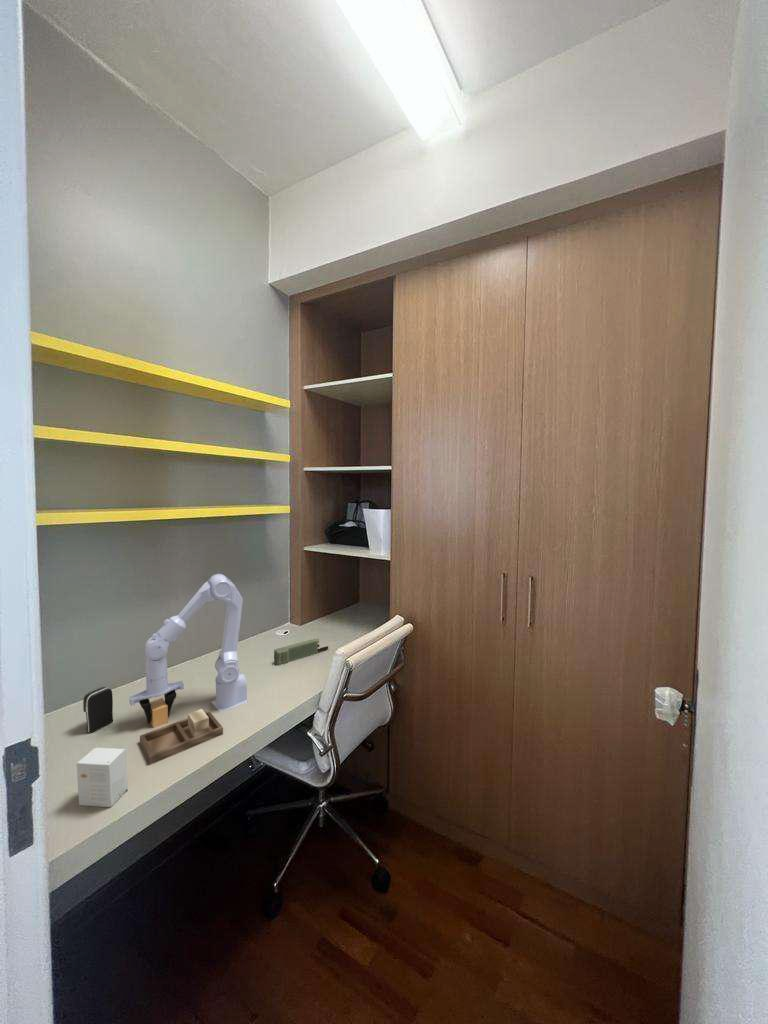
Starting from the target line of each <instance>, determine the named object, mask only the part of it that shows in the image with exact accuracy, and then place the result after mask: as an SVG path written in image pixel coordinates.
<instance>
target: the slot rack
mask: <svg viewBox="0 0 768 1024" xmlns="http://www.w3.org/2000/svg"><path fill="white" fill-rule="evenodd" d="M204 712H205V713H206V715H207V716H208V717H209V731H208V732H206V733H204V734H201V735H199V736H196V737H194V738H193V736H192V735H191V733H190V732H189V730H188V717H187V718H183V719H181V720H178V721H176V722H173V723H171V724H168V725H164V726H163V727H159V728H157V729H154V730H151V731H149V732H146V733H143V734H140V735H139V744H140V746H141V749H142V750H143V753H144V755H145V757H146V760H147V761H148V764H149V766H151V765H153V764H156V763H158V762H160V761H163V760H165V759H167V758H171V757H173V756H175V755H177V754H179V753H182V752H184V751H187V750H189V749H191V748H193V747H196V746H199V745H202V744H204V743H206V742H209V741H210V740H213V739H216V738H218V737H220V736H223V735H224V727H223V726H222V725H221V724H220V722H219V721H218V720H217V718H216V717H215V716H214V715H213V714H212V712H211V711H210V710H206V711H205V710H204Z"/></svg>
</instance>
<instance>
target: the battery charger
mask: <svg viewBox="0 0 768 1024" xmlns="http://www.w3.org/2000/svg"><path fill="white" fill-rule="evenodd" d="M113 701H114V700H113V690H112V689H111V688H109V687H106V686H102V687H99V688H97V689H94V690H92V691H90V692H88V693H86V694H85V695H84V697H83V701H82V702H83V703H82V706H83V708H82V710H83V712H84V713H85V716H86V718H85V719H86V727H85V730H86V731H87V732H88V733H90V734H91V733H93V732H95V731H98V730H99V729H101V728H104V727H105V726H107V725H109V724H112V723H113V722H114V717H113V714H114V711H113V708H114V706H113V705H114V704H113V703H114V702H113Z"/></svg>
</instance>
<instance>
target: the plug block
mask: <svg viewBox="0 0 768 1024" xmlns="http://www.w3.org/2000/svg"><path fill="white" fill-rule="evenodd" d="M150 704H151V710H150V714H151V723H150V724H151V726H152V728H157V727H160V726H162V725H165V724H168V723H169V716H168V706H167V704H166V703H165V699H164V698H163V697H161V698H158V699H155V700H152V701H150Z"/></svg>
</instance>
